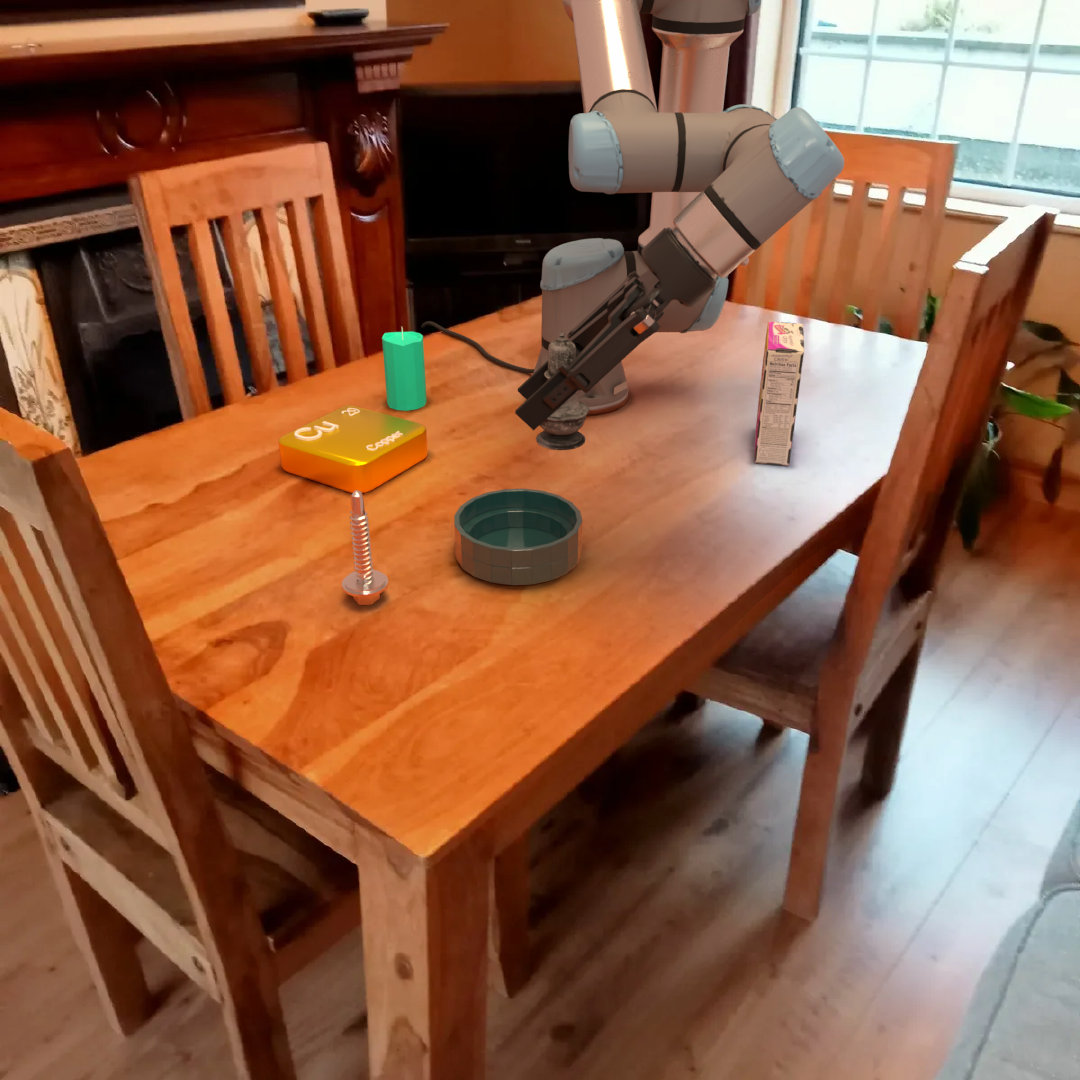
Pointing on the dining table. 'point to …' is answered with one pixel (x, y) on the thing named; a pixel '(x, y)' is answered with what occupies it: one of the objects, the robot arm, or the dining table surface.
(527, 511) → the bowl
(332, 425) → the element tile
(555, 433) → the salt shaker
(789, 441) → the candy bar box
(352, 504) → the screw
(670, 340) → the dining table surface
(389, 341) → the candle
